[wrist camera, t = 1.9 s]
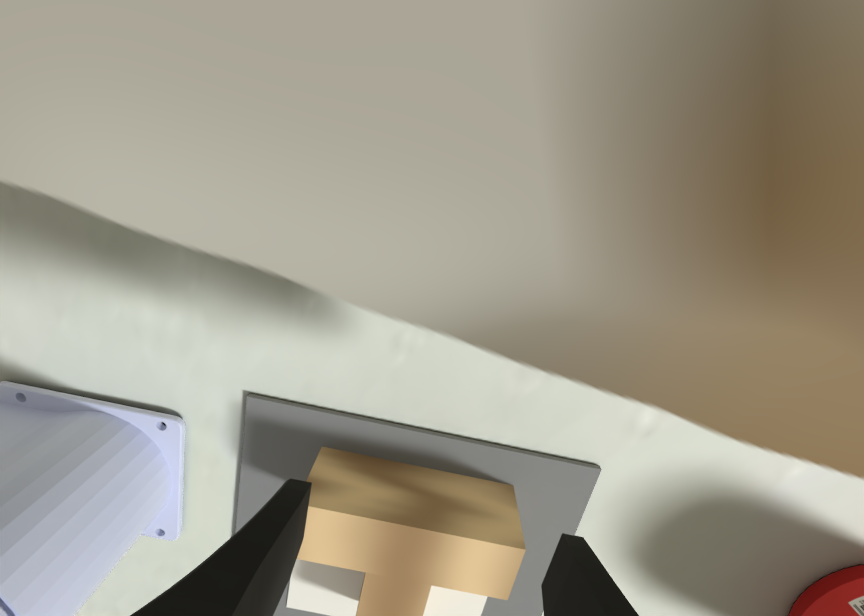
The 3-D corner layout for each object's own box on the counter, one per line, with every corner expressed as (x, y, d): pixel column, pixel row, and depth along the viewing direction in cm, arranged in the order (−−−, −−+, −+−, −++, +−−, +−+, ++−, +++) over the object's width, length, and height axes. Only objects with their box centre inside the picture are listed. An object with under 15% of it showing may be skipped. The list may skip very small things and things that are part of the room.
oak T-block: (299, 590, 26) (272, 664, 22) (321, 446, 23) (295, 503, 19) (467, 622, 26) (470, 701, 22) (513, 485, 23) (525, 549, 19)
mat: (224, 681, 29) (221, 688, 29) (249, 393, 22) (246, 397, 22) (491, 731, 30) (491, 739, 29) (599, 465, 23) (601, 471, 22)
